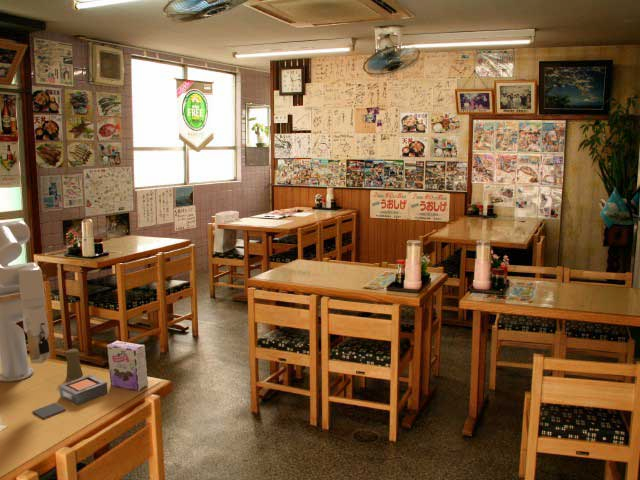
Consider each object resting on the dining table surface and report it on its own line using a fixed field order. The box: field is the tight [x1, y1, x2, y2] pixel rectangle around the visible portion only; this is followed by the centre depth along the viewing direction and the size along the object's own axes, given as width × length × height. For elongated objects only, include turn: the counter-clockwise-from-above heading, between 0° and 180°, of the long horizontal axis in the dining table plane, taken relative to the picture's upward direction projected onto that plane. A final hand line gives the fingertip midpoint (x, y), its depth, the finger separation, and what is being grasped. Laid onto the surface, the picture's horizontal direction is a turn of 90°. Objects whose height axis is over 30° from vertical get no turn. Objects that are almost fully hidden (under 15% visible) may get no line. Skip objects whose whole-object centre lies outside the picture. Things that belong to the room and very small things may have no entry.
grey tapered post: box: [64, 348, 84, 380], centre depth 238 cm, size 6×6×11 cm
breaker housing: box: [58, 374, 109, 407], centre depth 220 cm, size 12×12×4 cm
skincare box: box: [26, 330, 51, 364], centre depth 212 cm, size 6×4×12 cm
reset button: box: [69, 379, 97, 392], centre depth 220 cm, size 7×7×2 cm
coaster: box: [32, 402, 67, 420], centre depth 209 cm, size 8×8×1 cm
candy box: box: [106, 340, 149, 392], centre depth 227 cm, size 14×6×16 cm, turn 65°
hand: (39, 350), depth 213 cm, fingers closed on skincare box, 7 cm apart
